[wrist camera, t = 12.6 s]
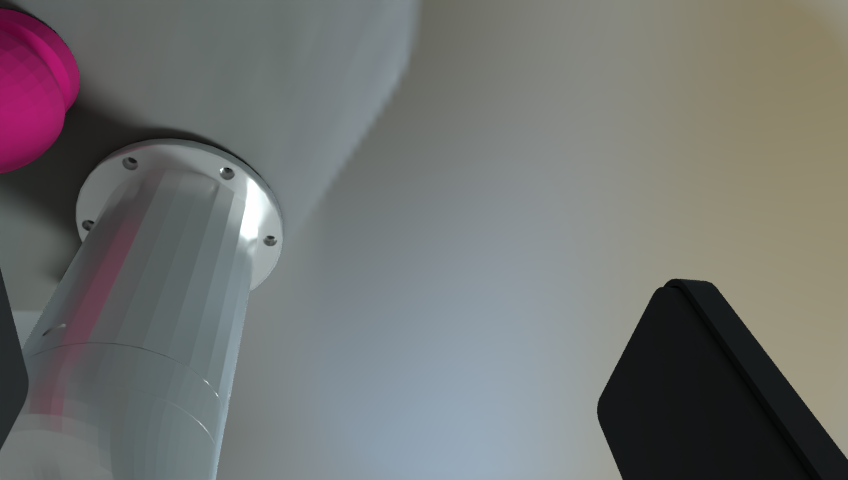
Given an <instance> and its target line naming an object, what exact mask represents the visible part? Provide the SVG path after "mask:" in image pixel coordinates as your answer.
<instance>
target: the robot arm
mask: <svg viewBox="0 0 848 480" xmlns="http://www.w3.org/2000/svg"><path fill="white" fill-rule="evenodd" d="M132 158H134V159H135V160H134V159H132ZM226 167H227V168H230V169H231V170H229V169H227V168H226ZM76 224H77V228H78V233H79V236H80V238H81V240H82V245H81V247H80V248H79V250H78V252H77V254H76V255H75V257H74V259H73V261H72V262H71V264H70V266H69V267H68V269H67V271H66V273H65V274H64V276H63V278H62V280H61V281H60V283H59V285H58V287H57V288H56V290H55V292H54V294H53V295H52V297H51V299H50V301H49V302H48V304H47V306H46V308H45V309H44V311H43V313H42V315H41V316H40V318H39V320H38V322H37V324H36V325H35V327H34V329H33V330H32V332H31V334H30V336H29V338H28V339H27V341H26V343H25V344H24V346H23V348H22V350H21V347H20V343H19V339H18V335H17V331H16V327H15V324H14V319H13V316H12V312H11V308H10V304H9V300H8V296H7V292H6V289H5V285H4V281H3V277H2V273H1V269H0V480H216V473H217V467H218V461H219V455H220V449H221V444H222V438H223V432H224V427H225V423H226V417H227V412H228V406H229V401H230V395H231V389H232V384H233V379H234V373H235V368H236V362H237V357H238V351H239V345H240V340H241V334H242V329H243V323H244V318H245V313H246V307H247V302H248V296H249V291H251V290H253V289H254V288H256V287H257V286H258V285H259V284H260V283H261V282H262V281H264V280H265V279H266V278H267V277H268V275H269V274H270V272H271V271H272V270H273V268H274V267H275V265H276V263H277V260H278V258H279V255H280V253H281V247H282V241H283V220H282V216H281V211H280V208H279V205H278V203H277V201H276V199H275V197H274V195H273V193H272V192H271V190H270V189H269V187H268V186H267V185H266V183H265V182H264V181H263V179H262V178H261V177H260V176H258V175H257V174H256V173H255V172H254V171H253V170H252V169H251V168H250V167H249V166H248V165H246V164H245V163H243V162H242V161H240V160H238V159H237V158H235V157H234V156H232V155H231V154H228V153H226V152H224V151H222V150H220V149H217V148H215V147H213V146H209V145H206V144H202V143H199V142H195V141H190V140H181V139H172V138H168V139H150V140H146V141H141V142H137V143H133V144H130V145H127V146H125V147H123V148H121V149H118V150H116V151H114V152H112V153H111V154H110V155H108V156H107V157H106V158H104V159H103V160H102V161H100V162H99V163H98V165H97V166H96V167H95V168H94V169H93V171H92V172H91V173H90V174H89V176H88V177H87V179H86V181H85V183H84V184H83V186H82V188H81V189H80V193H79V196H78V199H77V203H76ZM597 414H598V420H599V423H600V426H601V428H602V430H603V433H604V435H605V437H606V440H607V443H608V445H609V447H610V450H611V452H612V455H613V457H614V459H615V462H616V464H617V467H618V469H619V471H620V474H621V476H622V479H623V480H848V459H847V458H846V457H845V455H844V454H843V453H842V452H841V451H840V449H839V448H838V446H837V445H836V444H835V442H834V441H833V440H832V439H831V437H830V436H829V434H828V433H827V432H826V431H825V429H824V428H823V427H822V425H821V424H820V423H819V421H818V420H817V419H816V418H815V416H814V415H813V414H812V412H811V411H810V410H809V408H808V407H807V406H806V405H805V403H804V402H803V400H802V399H801V398H800V397H799V395H798V394H797V393H796V391H795V390H794V389H793V387H792V386H791V385H790V383H789V382H788V381H787V379H786V378H785V377H784V376H783V374H782V373H781V372H780V370H779V369H778V368H777V366H776V365H775V364H774V362H773V361H772V360H771V359H770V357H769V356H768V355H767V353H766V352H765V351H764V349H763V348H762V347H761V345H760V344H759V343H758V341H757V340H756V339H755V338H754V336H753V335H752V334H751V332H750V331H749V330H748V328H747V327H746V326H745V324H744V323H743V322H742V320H741V319H740V318H739V317H738V315H737V314H736V313H735V311H734V310H733V309H732V307H731V306H730V305H729V304H728V302H727V301H726V299H725V298H724V297H723V295H722V294H721V293H720V292H719V290H718V289H717V288H716V287H715V286H714V285H713V284H712V283H710V282H707V281H699V280H686V279H671V280H670V281H668V282H667V283H666V284H665V285H664V287H660V288H658V289H657V290H656V291H655V293H654V294H653V296H652V298H651V300H650V301H649V304H648V306H647V307H646V309H645V311H644V313H643V315H642V317H641V319H640V321H639V323H638V325H637V327H636V329H635V331H634V333H633V334H632V336H631V338H630V340H629V342H628V344H627V346H626V348H625V350H624V352H623V354H622V356H621V358H620V360H619V361H618V363H617V365H616V367H615V369H614V371H613V373H612V375H611V377H610V379H609V381H608V383H607V385H606V387H605V389H604V391H603V392H602V395H601V397H600V398H599V401H598V406H597Z"/></svg>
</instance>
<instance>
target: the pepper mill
mask: <svg viewBox="0 0 848 480" xmlns="http://www.w3.org/2000/svg"><path fill="white" fill-rule="evenodd" d="M79 86H80V78H79V71H78V68H77V64H76V61H75V59H74V57H73V55H72V53H71V51H70V50H69V48H68V47H67V45H66V44H65V43H64V42H63V41H62V40H61V38H60V37H59V36H58V35H57V34H56V33H55V32H54V31H53V30H51V29H50V28H49V27H47V26H46V25H44V24H43V23H41V22H40V21H38V20H37V19H35V18H33V17H30V16H28V15H26V14H23V13H20V12H17V11H14V10H9V9H1V8H0V174H2V173H7V172H10V171H13V170H16V169H18V168H20V167H23V166H25V165H27V164H29V163H31V162H32V161H34V160H36V159H37V158H39V157H40V156H41V155H42V154H43V153H44V152H45V151H46V150H47V149H48V148H49V147H50V146H51V145H52V144H53V143H54V142H55V141H56V139H57V137H58V136H59V134H60V132H61V130H62V128H63V124H64V118H65V113H66V112H67V110H68V109H69V108H70V107H71V106H72V105H73V103H74V101H75V100H76V98H77V95H78V92H79Z"/></svg>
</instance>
